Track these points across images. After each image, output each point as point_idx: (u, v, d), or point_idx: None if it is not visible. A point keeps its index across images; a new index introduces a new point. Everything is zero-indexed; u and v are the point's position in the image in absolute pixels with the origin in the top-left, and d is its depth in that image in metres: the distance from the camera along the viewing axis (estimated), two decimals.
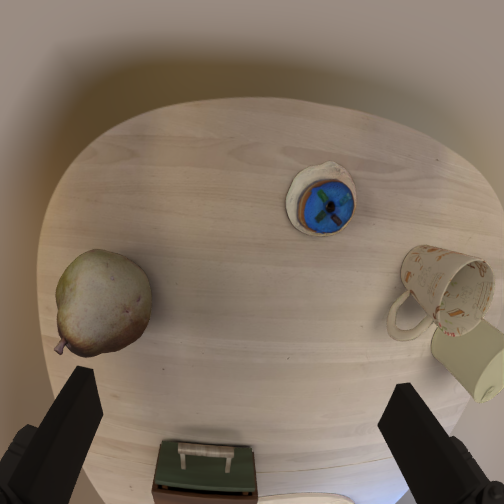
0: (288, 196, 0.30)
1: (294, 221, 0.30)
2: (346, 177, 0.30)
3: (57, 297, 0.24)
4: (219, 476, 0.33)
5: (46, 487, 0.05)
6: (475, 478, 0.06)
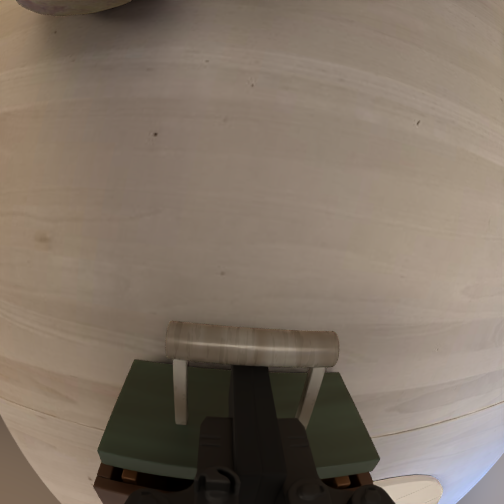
0: None
1: None
2: None
3: None
4: None
5: None
6: (283, 465, 0.07)
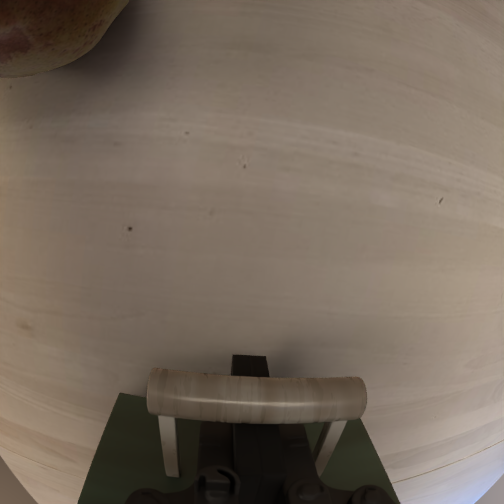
0: None
1: None
2: None
3: None
4: None
5: None
6: (282, 465, 0.07)
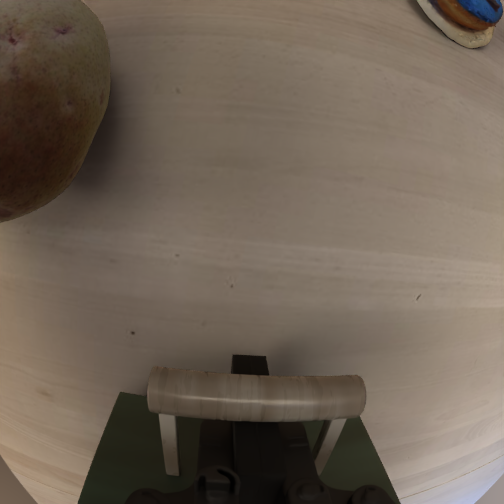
0: None
1: None
2: None
3: None
4: None
5: None
6: (282, 465, 0.07)
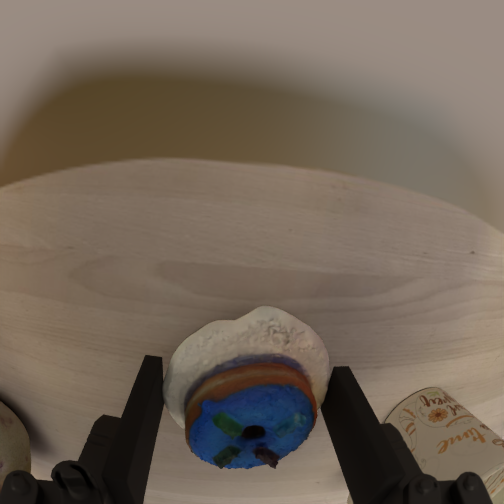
0: (164, 389, 0.12)
1: None
2: (307, 347, 0.12)
3: None
4: None
5: (136, 472, 0.07)
6: (400, 467, 0.07)
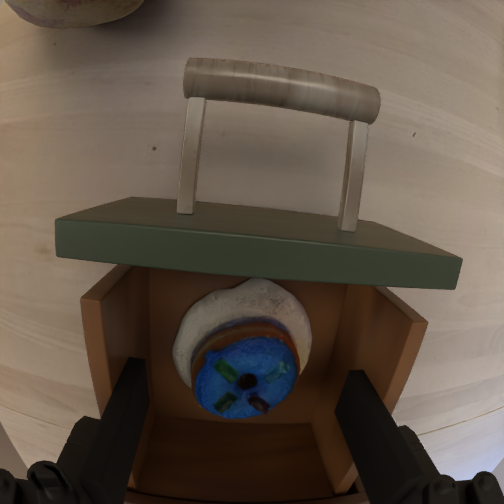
0: (174, 349, 0.15)
1: (190, 387, 0.16)
2: (290, 311, 0.15)
3: None
4: (327, 231, 0.10)
5: (113, 475, 0.07)
6: (419, 469, 0.07)
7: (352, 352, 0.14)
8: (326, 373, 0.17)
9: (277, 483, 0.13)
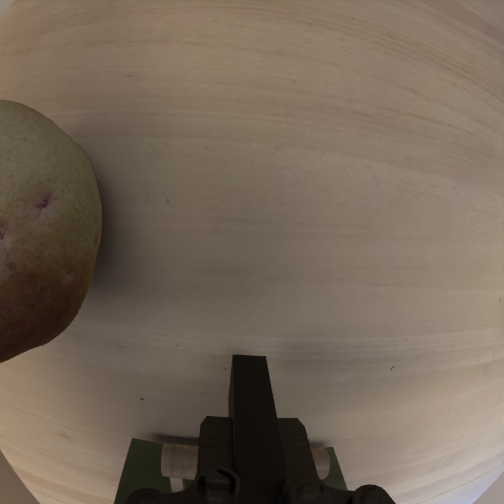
0: None
1: None
2: None
3: None
4: None
5: None
6: (282, 465, 0.07)
7: None
8: None
9: None
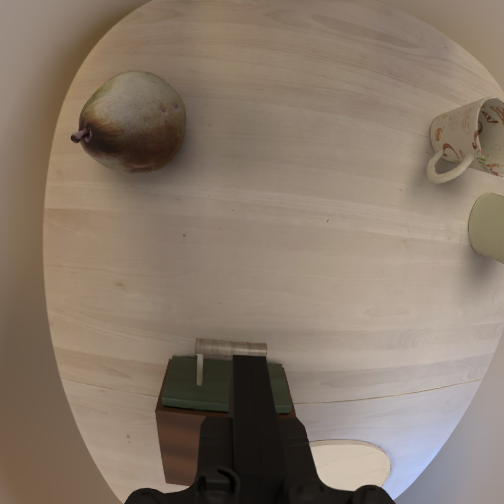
0: None
1: None
2: None
3: (83, 111, 0.21)
4: None
5: None
6: (283, 465, 0.07)
7: None
8: None
9: None
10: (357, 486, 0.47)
